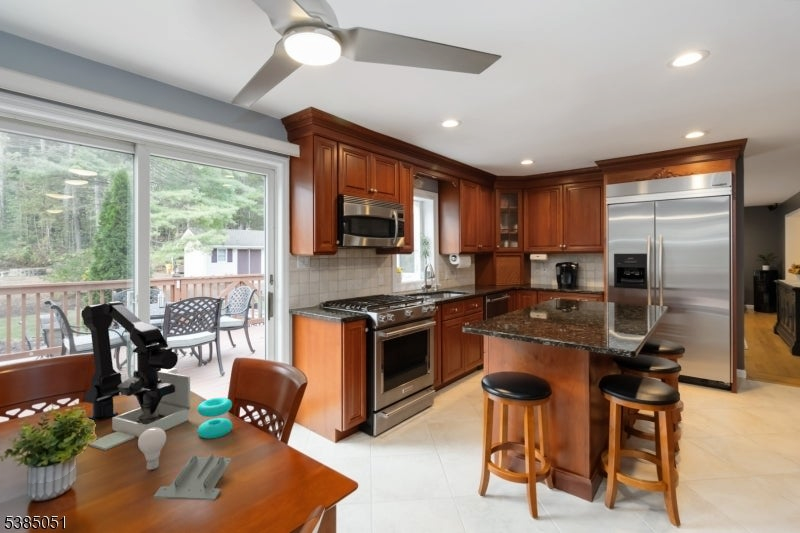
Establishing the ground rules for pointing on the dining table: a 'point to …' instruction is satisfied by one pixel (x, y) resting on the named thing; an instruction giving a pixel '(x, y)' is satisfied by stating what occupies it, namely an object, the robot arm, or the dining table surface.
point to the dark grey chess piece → (147, 412)
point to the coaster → (111, 440)
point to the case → (160, 408)
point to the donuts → (216, 425)
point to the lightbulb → (152, 445)
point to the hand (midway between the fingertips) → (148, 412)
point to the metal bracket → (196, 479)
